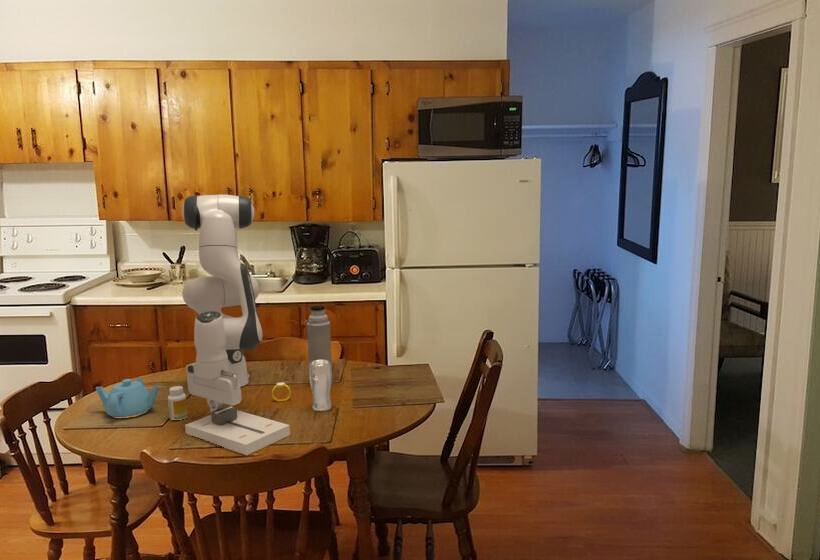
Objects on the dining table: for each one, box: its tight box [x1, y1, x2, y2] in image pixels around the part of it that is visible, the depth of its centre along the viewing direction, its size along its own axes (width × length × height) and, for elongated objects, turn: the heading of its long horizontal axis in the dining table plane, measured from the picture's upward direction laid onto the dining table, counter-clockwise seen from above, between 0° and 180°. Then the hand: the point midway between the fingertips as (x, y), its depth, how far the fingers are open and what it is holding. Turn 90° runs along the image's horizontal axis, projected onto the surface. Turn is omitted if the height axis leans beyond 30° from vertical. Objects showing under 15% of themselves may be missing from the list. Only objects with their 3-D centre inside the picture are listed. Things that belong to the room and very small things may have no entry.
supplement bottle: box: [167, 385, 189, 421], centre depth 204 cm, size 5×5×10 cm
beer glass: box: [308, 359, 333, 412], centre depth 209 cm, size 7×7×15 cm
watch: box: [271, 381, 292, 402], centre depth 218 cm, size 6×3×6 cm, turn 101°
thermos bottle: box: [306, 305, 334, 387], centre depth 231 cm, size 8×8×28 cm
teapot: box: [95, 377, 160, 417], centre depth 210 cm, size 15×15×11 cm
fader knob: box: [210, 405, 238, 425], centre depth 193 cm, size 4×6×3 cm, turn 145°
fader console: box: [184, 409, 291, 456], centre depth 191 cm, size 26×16×3 cm, turn 55°
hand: (216, 413), depth 195 cm, fingers closed
